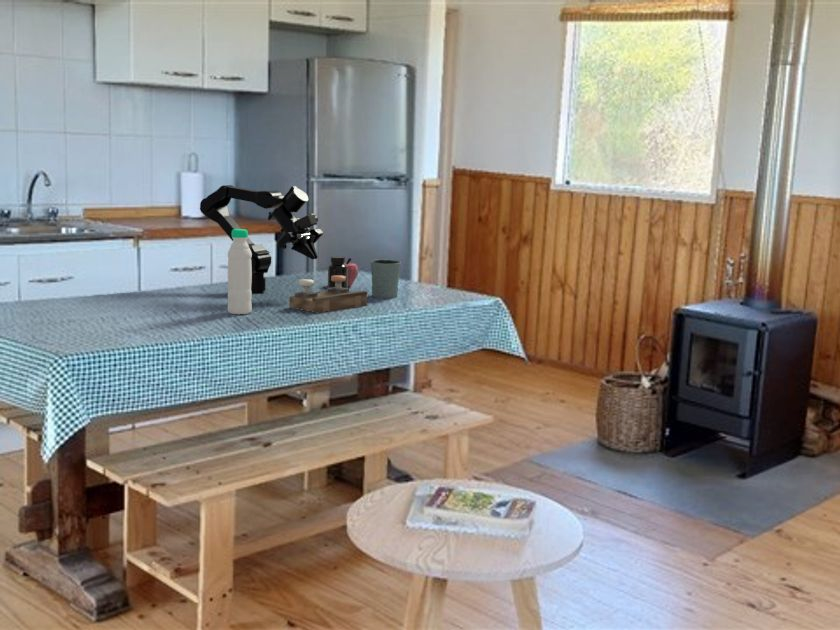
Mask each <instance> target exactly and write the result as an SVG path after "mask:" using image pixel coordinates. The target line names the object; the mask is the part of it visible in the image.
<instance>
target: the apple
mask: <svg viewBox="0 0 840 630" xmlns="http://www.w3.org/2000/svg"><path fill="white" fill-rule="evenodd" d="M351 261H352V258H349V257H348V259H347V261H346V262H345V263H344V264H345V265H346V266H347V267H348V287H351V286H353V285H354V282H355V280H356V279H357V277H358V275H359V272H360V271H359V267H358V265H357V263H354V262H353V263H351Z"/></svg>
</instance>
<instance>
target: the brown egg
mask: <svg viewBox="0 0 840 630" xmlns="http://www.w3.org/2000/svg"><path fill="white" fill-rule="evenodd" d="M331 281H334V282H335V289H341V284H342V282H344V281H346V276H341V275H334V276H331Z"/></svg>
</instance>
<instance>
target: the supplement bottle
mask: <svg viewBox="0 0 840 630" xmlns="http://www.w3.org/2000/svg"><path fill="white" fill-rule="evenodd" d="M344 263H346V258H345V256H331V257H330V264H329V265H328V266H327V288H332V287H335V282H334V281H331V276H334V275H341V276H346V281H344V282H342V284H341V287H343V288H348V287H349V286H348V267H347V266H346V265H345V264H344ZM348 289H349V288H348Z"/></svg>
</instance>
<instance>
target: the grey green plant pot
mask: <svg viewBox="0 0 840 630" xmlns="http://www.w3.org/2000/svg"><path fill="white" fill-rule="evenodd" d="M401 265H402V261H400V260H396V259H385V258H384V259H383V258H382V259H381V258H380V259H379V258H377V259H373V260H371V261H370V269H371V272H370V273H371V285H372V286H371V296H372V297H373V298H375V297H376V299H388V300H389V299H395V298H398V296H399V295H398V294H399V281H400V276H401V275H400V271H401Z"/></svg>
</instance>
